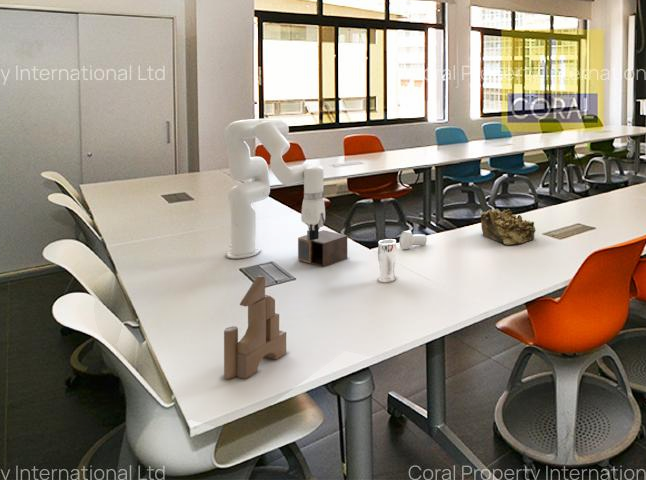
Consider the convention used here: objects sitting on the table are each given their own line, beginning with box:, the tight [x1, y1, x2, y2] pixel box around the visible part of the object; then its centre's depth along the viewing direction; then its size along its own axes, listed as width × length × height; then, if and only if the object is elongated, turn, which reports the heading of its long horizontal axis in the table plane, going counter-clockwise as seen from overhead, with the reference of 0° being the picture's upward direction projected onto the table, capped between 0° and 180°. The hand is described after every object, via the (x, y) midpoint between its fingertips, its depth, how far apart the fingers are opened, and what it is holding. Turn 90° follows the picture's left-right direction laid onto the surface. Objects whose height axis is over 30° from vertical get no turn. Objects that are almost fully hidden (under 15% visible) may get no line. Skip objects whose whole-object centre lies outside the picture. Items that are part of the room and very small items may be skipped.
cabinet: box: [299, 229, 348, 268], centre depth 231 cm, size 12×16×10 cm
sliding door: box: [297, 229, 311, 264], centre depth 227 cm, size 1×8×14 cm, turn 60°
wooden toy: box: [223, 275, 287, 380], centre depth 148 cm, size 16×7×25 cm, turn 162°
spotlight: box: [399, 230, 428, 250], centre depth 247 cm, size 8×11×8 cm
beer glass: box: [377, 238, 397, 283], centre depth 209 cm, size 7×7×15 cm
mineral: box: [480, 208, 536, 246], centre depth 264 cm, size 27×25×15 cm
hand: (313, 239), depth 224 cm, fingers closed
